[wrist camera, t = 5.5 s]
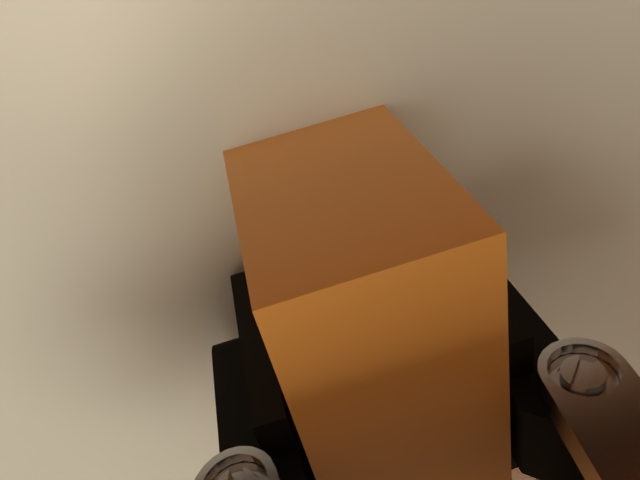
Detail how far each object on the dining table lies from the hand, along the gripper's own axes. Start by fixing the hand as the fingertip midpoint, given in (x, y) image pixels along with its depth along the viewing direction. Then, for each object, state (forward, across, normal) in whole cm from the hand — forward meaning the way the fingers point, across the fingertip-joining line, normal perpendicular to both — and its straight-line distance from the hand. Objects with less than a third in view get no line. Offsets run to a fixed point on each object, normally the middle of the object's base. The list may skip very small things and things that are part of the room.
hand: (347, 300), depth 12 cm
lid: (+2, 0, 0) cm, 2 cm away
